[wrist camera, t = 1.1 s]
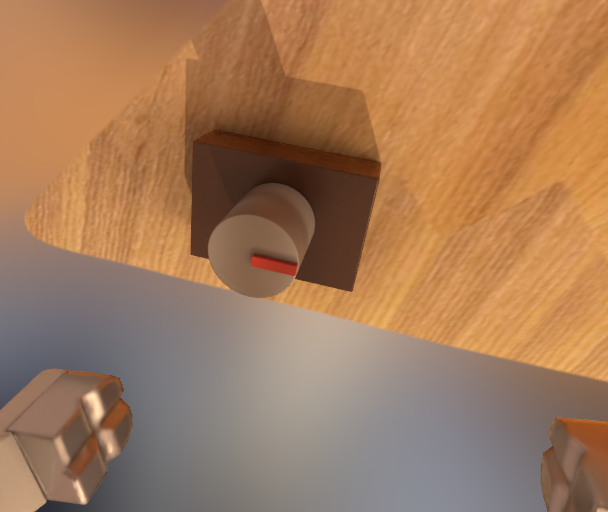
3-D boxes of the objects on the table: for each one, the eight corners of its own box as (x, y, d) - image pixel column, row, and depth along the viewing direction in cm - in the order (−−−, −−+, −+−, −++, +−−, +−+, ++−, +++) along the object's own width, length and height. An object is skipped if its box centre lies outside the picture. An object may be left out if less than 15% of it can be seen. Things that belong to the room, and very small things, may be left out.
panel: (208, 234, 29) (189, 255, 27) (213, 129, 26) (192, 140, 23) (356, 267, 28) (352, 292, 26) (381, 162, 25) (379, 178, 22)
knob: (235, 246, 26) (203, 289, 21) (241, 175, 23) (206, 207, 19) (308, 263, 25) (290, 310, 21) (321, 191, 23) (303, 228, 19)
